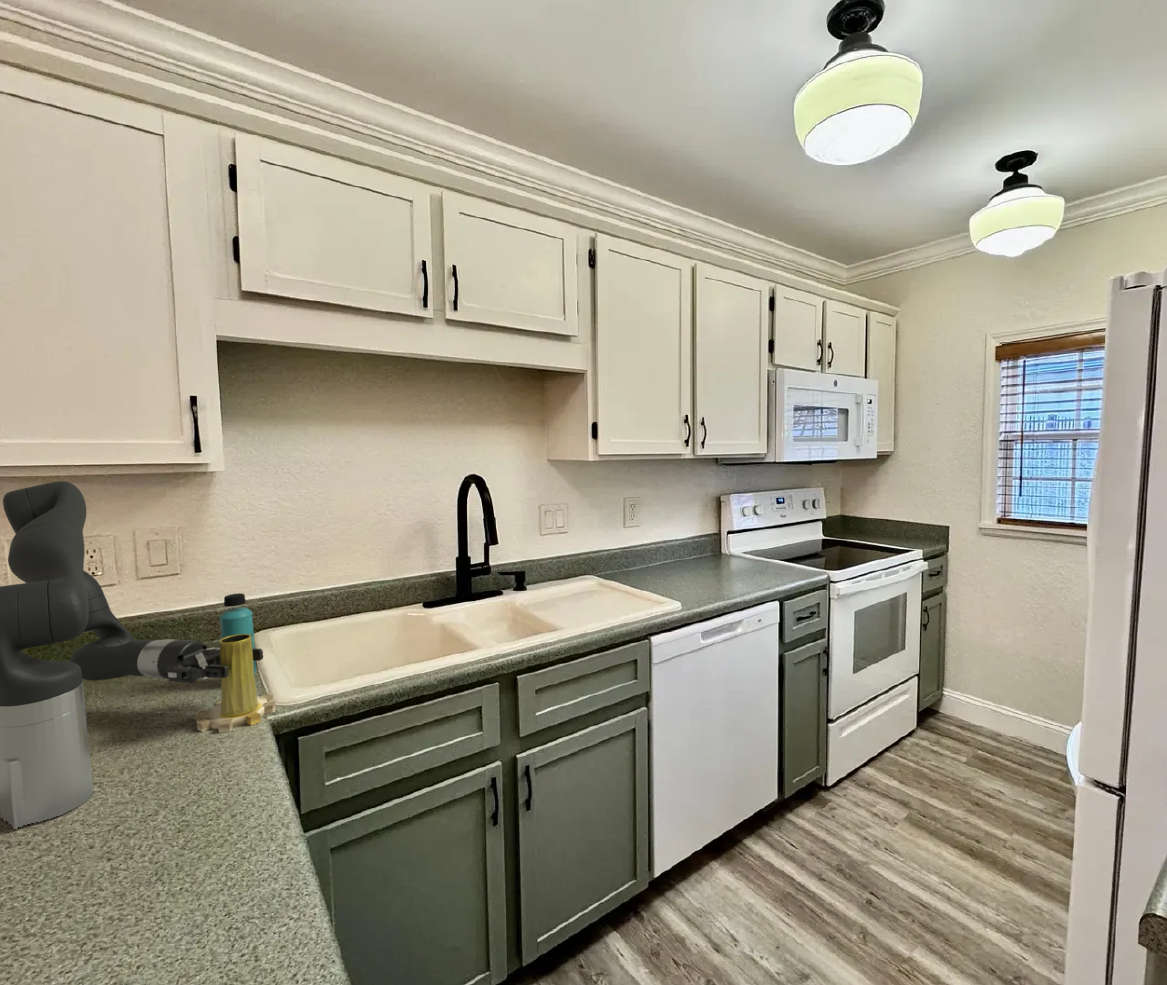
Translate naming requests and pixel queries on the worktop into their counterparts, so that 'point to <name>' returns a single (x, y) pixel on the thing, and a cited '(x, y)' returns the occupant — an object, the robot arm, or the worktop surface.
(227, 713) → the vase
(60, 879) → the worktop surface
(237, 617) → the beverage bottle
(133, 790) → the worktop surface
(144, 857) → the worktop surface
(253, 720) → the sprocket board
